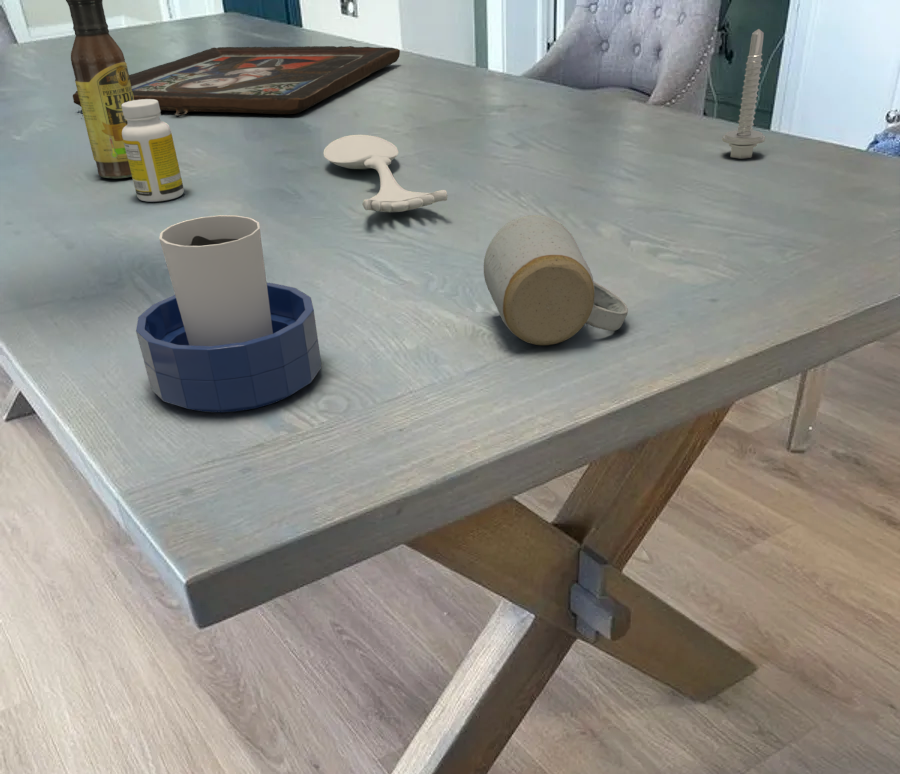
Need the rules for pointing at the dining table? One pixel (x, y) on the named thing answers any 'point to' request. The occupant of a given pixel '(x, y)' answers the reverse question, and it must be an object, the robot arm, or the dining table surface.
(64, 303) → the dining table surface
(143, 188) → the supplement bottle
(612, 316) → the ceramic mug
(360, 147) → the cream back scratcher
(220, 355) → the bowl
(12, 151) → the dining table surface
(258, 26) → the dining table surface
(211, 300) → the white cylindrical cup
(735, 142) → the screw
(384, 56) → the religious icon
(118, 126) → the sauce bottle
